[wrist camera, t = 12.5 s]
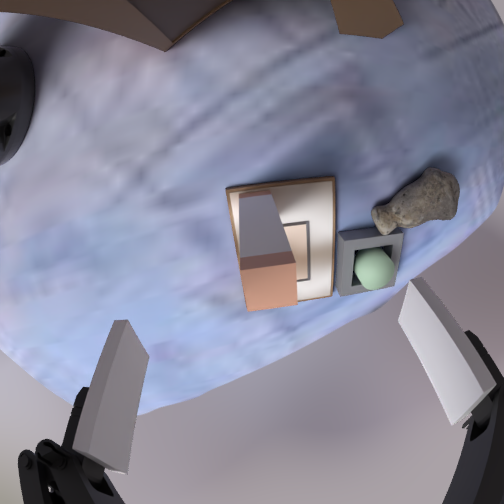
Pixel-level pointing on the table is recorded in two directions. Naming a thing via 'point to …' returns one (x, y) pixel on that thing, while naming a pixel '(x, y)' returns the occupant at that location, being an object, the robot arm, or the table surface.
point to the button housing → (363, 240)
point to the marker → (265, 254)
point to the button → (373, 267)
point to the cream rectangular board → (300, 228)
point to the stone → (419, 202)
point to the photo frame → (190, 16)
